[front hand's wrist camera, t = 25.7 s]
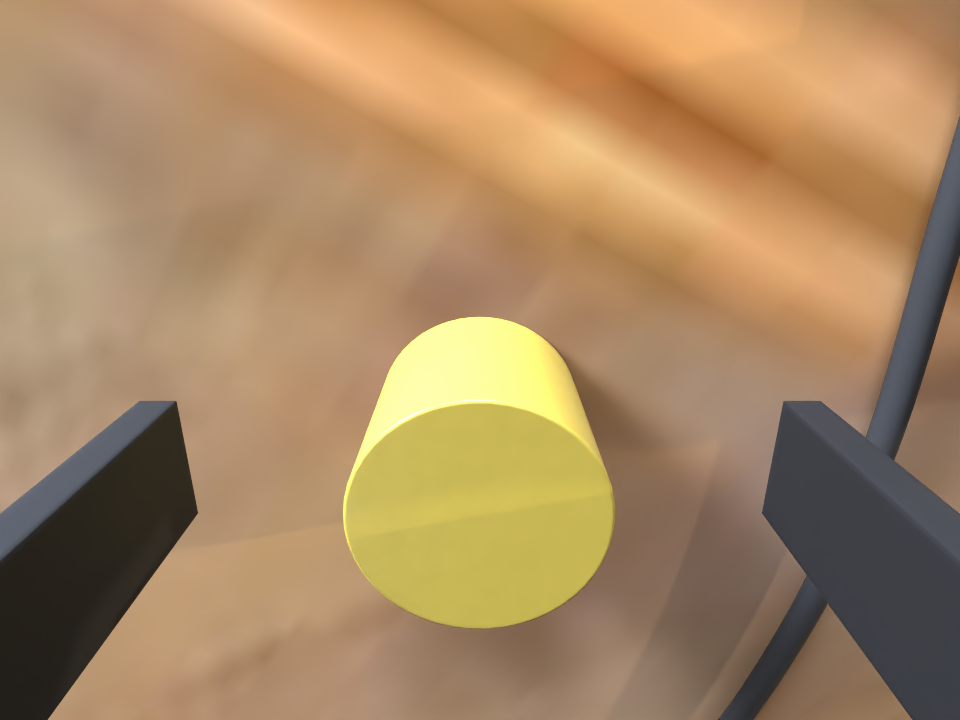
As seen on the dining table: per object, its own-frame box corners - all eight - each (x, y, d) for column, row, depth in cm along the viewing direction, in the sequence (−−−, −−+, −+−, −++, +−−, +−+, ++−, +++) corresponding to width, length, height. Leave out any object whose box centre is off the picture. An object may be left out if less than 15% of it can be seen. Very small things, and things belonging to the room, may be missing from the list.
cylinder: (470, 524, 17) (466, 670, 12) (341, 400, 15) (285, 512, 11) (616, 418, 16) (670, 535, 11) (490, 274, 14) (495, 342, 10)
